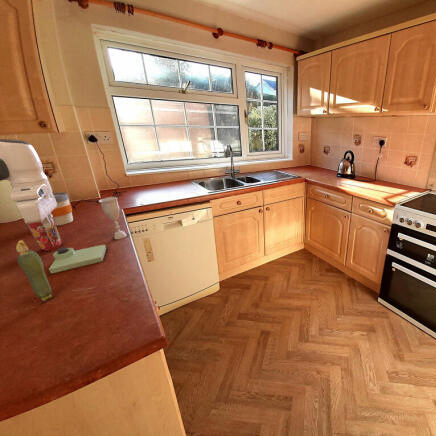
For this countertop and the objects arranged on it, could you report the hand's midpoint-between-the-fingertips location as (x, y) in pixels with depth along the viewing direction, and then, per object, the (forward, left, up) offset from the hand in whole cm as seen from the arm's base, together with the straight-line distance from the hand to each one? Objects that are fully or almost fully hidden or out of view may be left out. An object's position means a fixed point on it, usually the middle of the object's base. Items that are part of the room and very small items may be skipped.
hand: (49, 226), depth 88 cm
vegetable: (+1, -25, -15) cm, 29 cm away
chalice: (+17, +14, -15) cm, 27 cm away
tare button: (0, +1, -12) cm, 12 cm away
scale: (+5, -2, -15) cm, 16 cm away
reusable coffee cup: (-12, +54, -15) cm, 57 cm away
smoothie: (-8, +18, -15) cm, 25 cm away
